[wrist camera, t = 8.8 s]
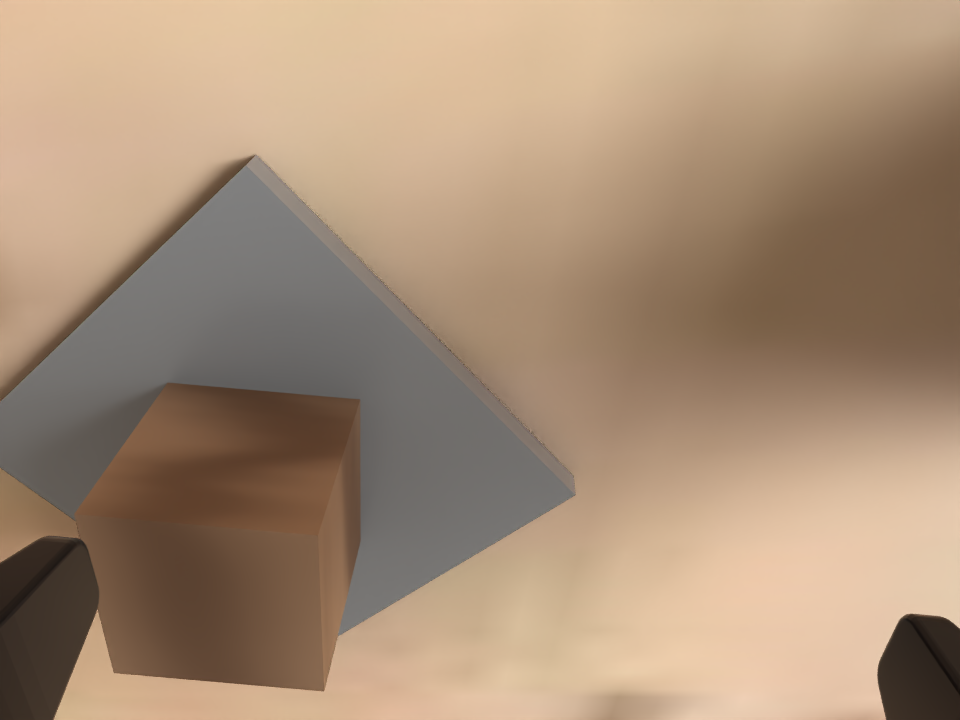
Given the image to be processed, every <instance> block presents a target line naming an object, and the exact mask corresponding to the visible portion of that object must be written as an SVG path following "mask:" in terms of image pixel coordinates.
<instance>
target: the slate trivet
mask: <svg viewBox="0 0 960 720" xmlns="http://www.w3.org/2000/svg"><path fill="white" fill-rule="evenodd" d="M167 383H179V384H190V385H202V386H213V387H224V388H236V389H247V390H258V391H270V392H281V393H293V394H304V395H315V396H327V397H338V398H349V399H360V475H361V542H360V546H359V550H358V554H357V558H356V563H355V567H354V571H353V575H352V579H351V583H350V587H349V591H348V595H347V600H346V604H345V608H344V612H343V616H342V620H341V624H340V628H339V632H338V636H339V635H341V634H343V633H344V632H346V631H348V630H349V629H351V628H353V627H354V626H356V625H358V624H359V623H361V622H363V621H364V620H366V619H368V618H369V617H371V616H373V615H374V614H376V613H378V612H380V611H381V610H383V609H385V608H386V607H388V606H390V605H391V604H393V603H395V602H396V601H398V600H400V599H401V598H403V597H405V596H406V595H408V594H410V593H412V592H413V591H415V590H417V589H418V588H420V587H422V586H423V585H425V584H427V583H428V582H430V581H432V580H433V579H435V578H437V577H438V576H440V575H442V574H443V573H445V572H447V571H449V570H450V569H452V568H454V567H455V566H457V565H459V564H460V563H462V562H464V561H465V560H467V559H469V558H470V557H472V556H474V555H475V554H477V553H479V552H481V551H482V550H484V549H486V548H487V547H489V546H491V545H492V544H494V543H496V542H497V541H499V540H501V539H502V538H504V537H506V536H507V535H509V534H511V533H513V532H514V531H516V530H518V529H519V528H521V527H523V526H524V525H526V524H528V523H529V522H531V521H533V520H534V519H536V518H538V517H539V516H541V515H543V514H544V513H546V512H548V511H550V510H551V509H553V508H555V507H556V506H558V505H560V504H561V503H563V502H565V501H566V500H568V499H570V498H571V497H573V496H575V485H574V476H573V475H572V474H571V473H570V472H569V471H568V470H567V469H566V468H565V467H564V466H563V465H562V464H561V463H560V462H559V461H558V460H557V459H556V458H555V457H554V456H553V455H552V454H551V453H550V452H549V451H548V450H547V449H546V448H545V447H544V446H543V445H542V444H541V443H540V442H539V441H538V440H537V439H536V438H535V437H534V436H533V435H532V434H531V433H530V432H529V431H528V430H527V429H526V428H525V427H524V426H523V425H522V424H521V423H520V422H519V420H518V419H517V418H516V417H515V416H514V415H513V414H512V413H511V412H510V411H509V410H508V409H507V408H506V407H505V406H504V405H503V404H502V403H501V402H500V401H499V400H498V399H497V398H496V397H495V396H494V395H493V394H492V393H491V392H490V391H489V390H488V389H487V388H486V387H485V386H484V385H483V384H482V383H481V382H480V381H479V380H478V379H477V378H476V377H475V376H474V375H473V374H472V373H471V372H470V371H469V370H468V369H467V368H466V367H465V366H464V365H463V364H462V363H461V362H460V361H459V360H458V359H457V358H456V357H455V356H454V355H453V354H452V353H451V352H450V351H449V350H448V349H447V347H446V346H445V345H444V344H443V343H442V342H441V341H440V340H439V339H438V338H437V337H436V336H435V335H434V334H433V333H432V332H431V331H430V330H429V329H428V328H427V327H426V326H425V325H424V324H423V323H422V322H421V321H420V320H419V319H418V318H417V317H416V316H415V315H414V314H413V313H412V312H411V311H410V310H409V309H408V308H407V307H406V306H405V305H404V304H403V303H402V302H401V301H400V300H399V299H398V298H397V297H396V296H395V295H394V294H393V293H392V292H391V291H390V290H389V289H388V288H387V287H386V286H385V285H384V284H383V283H382V282H381V281H380V280H379V279H378V278H377V277H376V276H375V275H374V273H373V272H372V271H371V270H370V269H369V268H368V267H367V266H366V265H365V264H364V263H363V262H362V261H361V260H360V259H359V258H358V257H357V256H356V255H355V254H354V253H353V252H352V251H351V250H350V249H349V248H348V247H347V246H346V245H345V244H344V243H343V242H342V241H341V240H340V239H339V238H338V237H337V236H336V235H335V234H334V233H333V232H332V231H331V230H330V229H329V228H328V227H327V226H326V225H325V224H324V223H323V222H322V221H321V220H320V219H319V218H318V217H317V216H316V215H315V214H314V213H313V212H312V211H311V210H310V209H309V208H308V207H307V206H306V205H305V204H304V203H303V202H302V201H301V199H300V198H299V197H298V196H297V195H296V194H295V193H294V192H293V191H292V190H291V189H290V188H289V187H288V186H287V185H286V184H285V183H284V182H283V181H282V180H281V179H280V178H279V177H278V176H277V175H276V174H275V173H274V172H273V171H272V170H271V169H270V168H269V167H268V166H267V165H266V164H265V163H264V162H263V161H262V160H261V159H260V158H259V157H258V156H257V155H255V156H254V157H253V158H252V159H251V160H250V161H249V162H248V163H247V164H246V165H245V166H244V167H243V168H242V169H241V170H240V171H239V172H238V173H237V174H236V175H235V176H234V177H233V178H232V179H231V180H230V181H229V182H227V183H226V184H225V185H224V186H223V187H222V188H221V189H220V190H219V191H218V192H217V193H216V194H215V195H214V196H213V197H212V198H211V199H210V200H209V201H208V202H207V203H206V204H205V205H204V206H203V207H202V208H201V209H199V210H198V211H197V212H196V213H195V214H194V215H193V216H192V217H191V218H190V219H189V220H188V221H187V222H186V223H185V224H184V225H183V226H182V227H181V228H180V229H179V230H178V231H177V232H176V233H175V234H174V235H172V236H171V237H170V238H169V239H168V240H167V241H166V242H165V243H164V244H163V245H162V246H161V247H160V248H159V249H158V250H157V251H156V252H155V253H154V254H153V255H152V256H151V257H150V258H149V259H148V260H147V261H146V262H144V263H143V264H142V265H141V266H140V267H139V268H138V269H137V270H136V271H135V272H134V273H133V274H132V275H131V276H130V277H129V278H128V279H127V280H126V281H125V282H124V283H123V284H122V285H121V286H120V287H119V288H118V289H116V290H115V291H114V292H113V293H112V294H111V295H110V296H109V297H108V298H107V299H106V300H105V301H104V302H103V303H102V304H101V305H100V306H99V307H98V308H97V309H96V310H95V311H94V312H93V313H92V314H91V315H90V316H88V317H87V318H86V319H85V320H84V321H83V322H82V323H81V324H80V325H79V326H78V327H77V328H76V329H75V330H74V331H73V332H72V333H71V334H70V335H69V336H68V337H67V338H66V339H65V340H64V341H63V342H62V343H60V344H59V345H58V346H57V347H56V348H55V349H54V350H53V351H52V352H51V353H50V354H49V355H48V356H47V357H46V358H45V359H44V360H43V361H42V362H41V363H40V364H39V365H38V366H37V367H36V368H35V369H34V370H32V371H31V372H30V373H29V374H28V375H27V376H26V377H25V378H24V379H23V380H22V381H21V382H20V383H19V384H18V385H17V386H16V387H15V388H14V389H13V390H12V391H11V392H10V393H9V394H8V395H7V396H5V397H4V398H3V399H2V400H1V401H0V468H1V469H3V470H4V471H6V472H7V473H8V474H10V475H11V476H13V477H14V478H15V479H17V480H18V481H20V482H21V483H23V484H24V485H25V486H27V487H28V488H30V489H31V490H32V491H34V492H35V493H37V494H38V495H40V496H41V497H42V498H44V499H45V500H47V501H48V502H49V503H51V504H52V505H54V506H55V507H56V508H58V509H59V510H61V511H62V512H64V513H65V514H66V515H68V516H69V517H71V518H72V519H73V520H75V516H74V514H75V512H76V511H77V509H78V508H79V506H80V505H81V504H82V502H83V501H84V499H85V498H86V497H87V495H88V494H89V492H90V491H91V490H92V488H93V487H94V485H95V484H96V483H97V481H98V480H99V478H100V477H101V476H102V474H103V473H104V471H105V470H106V469H107V467H108V466H109V464H110V463H111V462H112V460H113V459H114V457H115V456H116V454H117V453H118V452H119V450H120V449H121V447H122V446H123V445H124V443H125V442H126V440H127V439H128V438H129V436H130V435H131V433H132V432H133V431H134V429H135V428H136V426H137V425H138V424H139V422H140V421H141V419H142V418H143V417H144V415H145V414H146V412H147V411H148V410H149V408H150V407H151V405H152V404H153V402H154V401H155V400H156V398H157V397H158V395H159V394H160V393H161V391H162V390H163V388H164V387H165V386H166V384H167ZM75 521H76V520H75Z"/></svg>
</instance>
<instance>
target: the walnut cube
mask: <svg viewBox="0 0 960 720" xmlns="http://www.w3.org/2000/svg"><path fill="white" fill-rule="evenodd" d="M74 516H75V520H76V524H77V528H78V532H79V536H80V539H81V540H82V541H83V542H84V543H85V544H86V546H87V548H88V551H89V555H90V558H91V562H92V565H93V569H94V573H95V576H96V580H97V583H98V587H99V604H98V612H99V616H100V620H101V624H102V628H103V632H104V636H105V640H106V644H107V648H108V652H109V656H110V660H111V664H112V667H113V671H114V673H120V674H131V675H142V676H154V677H165V678H177V679H188V680H200V681H211V682H223V683H234V684H246V685H257V686H269V687H280V688H292V689H303V690H315V691H324V690H325V686H326V682H327V678H328V674H329V669H330V665H331V661H332V657H333V653H334V649H335V645H336V641H337V637H338V632H339V628H340V624H341V620H342V616H343V612H344V608H345V604H346V600H347V595H348V591H349V587H350V583H351V579H352V575H353V571H354V567H355V563H356V558H357V554H358V550H359V546H360V542H361V475H360V399H349V398H338V397H327V396H315V395H304V394H293V393H281V392H270V391H258V390H247V389H236V388H224V387H213V386H202V385H190V384H179V383H167V384H166V386H165V387H164V388H163V390H162V391H161V393H160V394H159V395H158V397H157V398H156V400H155V401H154V402H153V404H152V405H151V407H150V408H149V410H148V411H147V412H146V414H145V415H144V417H143V418H142V419H141V421H140V422H139V424H138V425H137V426H136V428H135V429H134V431H133V432H132V433H131V435H130V436H129V438H128V439H127V440H126V442H125V443H124V445H123V446H122V447H121V449H120V450H119V452H118V453H117V454H116V456H115V457H114V459H113V460H112V462H111V463H110V464H109V466H108V467H107V469H106V470H105V471H104V473H103V474H102V476H101V477H100V478H99V480H98V481H97V483H96V484H95V485H94V487H93V488H92V490H91V491H90V492H89V494H88V495H87V497H86V498H85V499H84V501H83V502H82V504H81V505H80V506H79V508H78V509H77V511H76V512H75V514H74Z"/></svg>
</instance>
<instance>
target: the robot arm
mask: <svg viewBox="0 0 960 720" xmlns="http://www.w3.org/2000/svg"><path fill="white" fill-rule="evenodd" d="M98 604H99V587H98V583H97V580H96V576H95V573H94V569H93V565H92V562H91V558H90V555H89V551H88V548H87V546H86V544H85V543H84V542H83V541H82V540H81V539H78V538H69V537H58V536H46V537H43V538H40V539H38V540H36V541H35V542H33V543H31V544H30V545H28V546H27V547H25V548H23V549H22V550H20V551H18V552H17V553H15V554H14V555H12V556H10V557H9V558H7V559H6V560H4V561H2V562H1V563H0V720H54V717H55V715H56V712H57V710H58V707H59V705H60V702H61V700H62V697H63V695H64V692H65V690H66V687H67V684H68V682H69V679H70V677H71V674H72V672H73V669H74V667H75V664H76V662H77V659H78V657H79V654H80V652H81V649H82V647H83V644H84V642H85V639H86V637H87V634H88V632H89V629H90V627H91V624H92V622H93V619H94V617H95V614H96V611H97V608H98ZM877 676H878V685H879V690H880V694H881V699H882V703H883V708H884V712H885V717H886V720H960V628H958V627H957V626H956V625H955V624H954V623H952V622H951V621H950V620H948V619H946V618H943V617H940V616H931V615H920V614H906V615H905V616H903V617H902V618H901V619H900V620H899V622H898V624H897V626H896V628H895V630H894V632H893V634H892V636H891V638H890V640H889V642H888V644H887V646H886V648H885V650H884V652H883V655H882V657H881V659H880V661H879V665H878V674H877Z"/></svg>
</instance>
